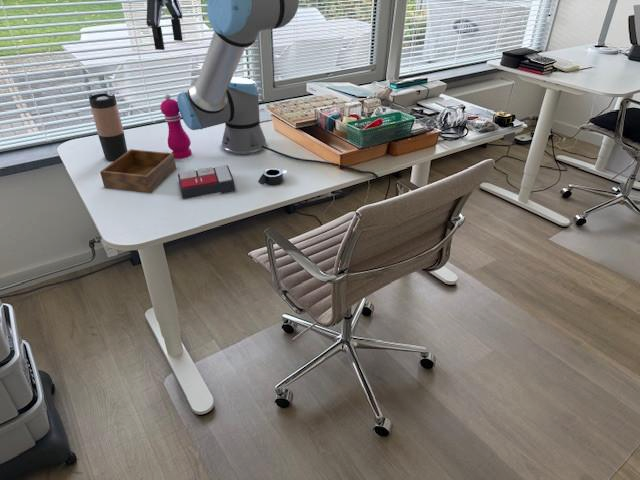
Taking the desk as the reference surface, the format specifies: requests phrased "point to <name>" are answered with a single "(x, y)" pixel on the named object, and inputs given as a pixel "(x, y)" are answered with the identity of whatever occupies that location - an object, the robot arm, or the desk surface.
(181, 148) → the pepper mill
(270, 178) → the duct tape
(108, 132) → the travel mug
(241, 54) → the robot arm
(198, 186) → the black red grey box
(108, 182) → the wooden box
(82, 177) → the desk surface
